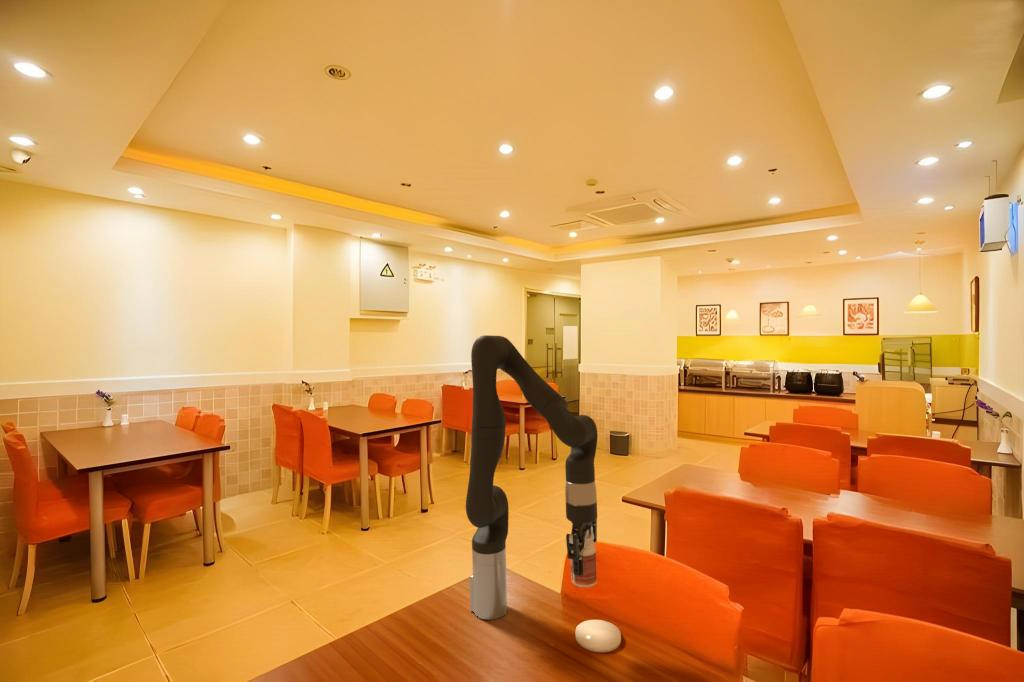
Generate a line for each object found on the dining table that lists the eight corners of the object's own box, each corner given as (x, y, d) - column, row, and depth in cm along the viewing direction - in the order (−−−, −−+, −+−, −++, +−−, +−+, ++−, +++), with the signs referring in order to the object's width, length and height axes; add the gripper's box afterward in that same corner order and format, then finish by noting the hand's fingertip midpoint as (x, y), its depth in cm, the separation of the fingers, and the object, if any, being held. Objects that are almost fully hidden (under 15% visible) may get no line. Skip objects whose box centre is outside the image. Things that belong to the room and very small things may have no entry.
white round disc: (568, 643, 111) (568, 638, 111) (584, 620, 121) (584, 615, 121) (613, 657, 106) (613, 652, 106) (626, 631, 116) (626, 626, 116)
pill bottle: (602, 583, 111) (600, 536, 111) (582, 591, 107) (581, 542, 108) (585, 573, 116) (583, 528, 116) (565, 580, 113) (564, 534, 113)
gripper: (578, 489, 120) (580, 554, 120) (554, 505, 108) (556, 578, 108) (605, 492, 116) (608, 559, 116) (584, 510, 104) (587, 585, 104)
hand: (583, 568), depth 112 cm, fingers closed on pill bottle, 6 cm apart
